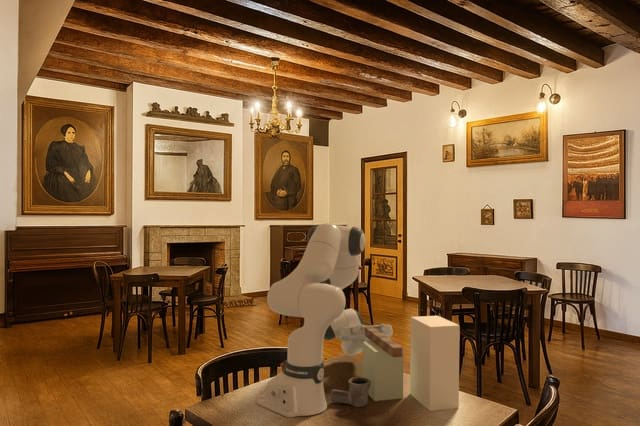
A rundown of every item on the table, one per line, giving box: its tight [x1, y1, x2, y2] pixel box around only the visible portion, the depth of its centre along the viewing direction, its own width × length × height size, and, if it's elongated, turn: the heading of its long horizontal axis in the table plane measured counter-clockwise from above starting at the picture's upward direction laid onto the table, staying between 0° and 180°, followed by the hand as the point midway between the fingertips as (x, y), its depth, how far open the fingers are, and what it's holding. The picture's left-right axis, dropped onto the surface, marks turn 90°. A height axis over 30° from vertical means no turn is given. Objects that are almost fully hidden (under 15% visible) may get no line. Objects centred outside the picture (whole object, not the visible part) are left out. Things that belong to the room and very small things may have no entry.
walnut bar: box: [365, 327, 404, 357], centre depth 157 cm, size 26×3×3 cm, turn 14°
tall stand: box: [409, 315, 461, 412], centre depth 150 cm, size 14×10×26 cm
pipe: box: [330, 376, 371, 408], centre depth 147 cm, size 6×13×8 cm, turn 80°
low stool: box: [361, 341, 404, 402], centre depth 157 cm, size 12×10×16 cm
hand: (371, 326), depth 167 cm, fingers open, 7 cm apart
